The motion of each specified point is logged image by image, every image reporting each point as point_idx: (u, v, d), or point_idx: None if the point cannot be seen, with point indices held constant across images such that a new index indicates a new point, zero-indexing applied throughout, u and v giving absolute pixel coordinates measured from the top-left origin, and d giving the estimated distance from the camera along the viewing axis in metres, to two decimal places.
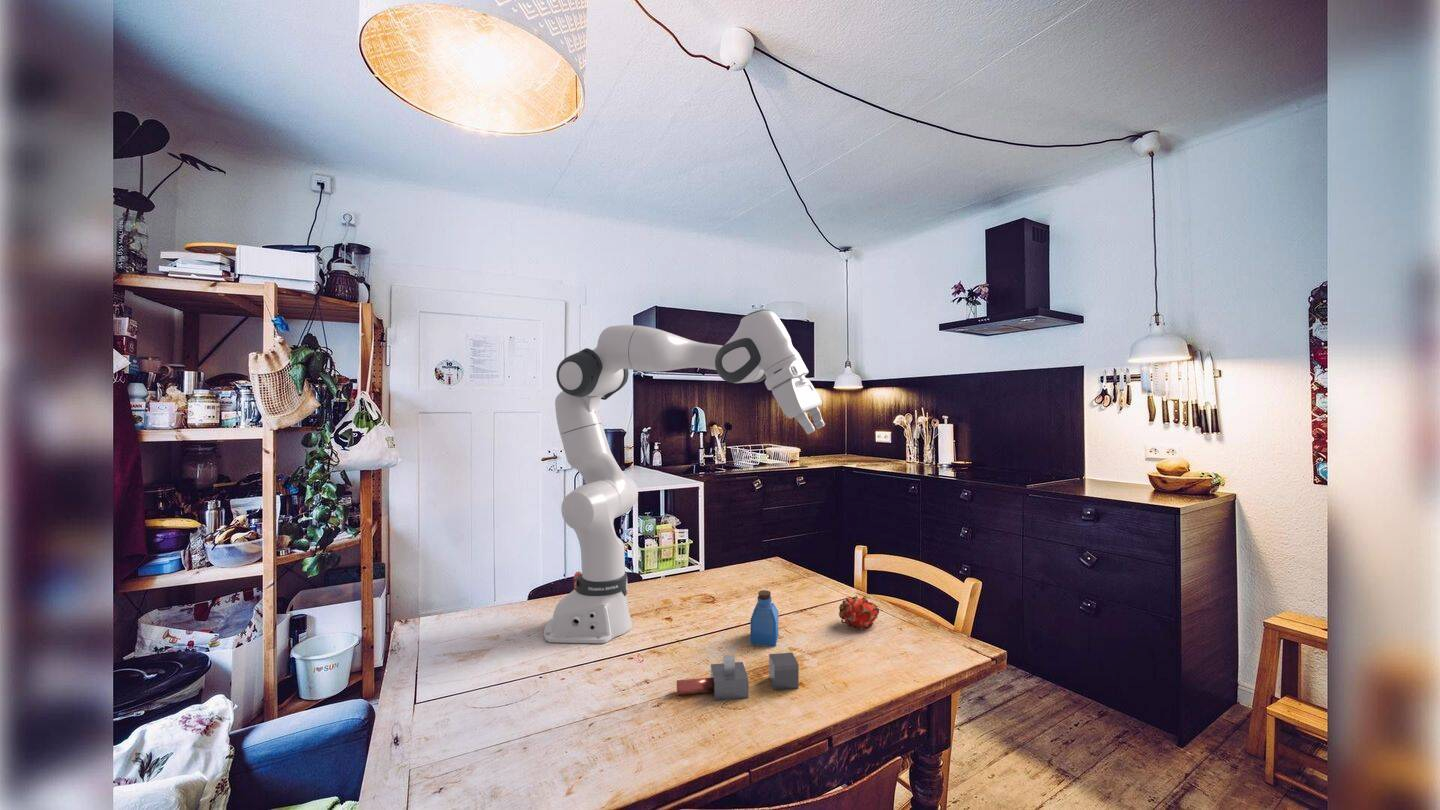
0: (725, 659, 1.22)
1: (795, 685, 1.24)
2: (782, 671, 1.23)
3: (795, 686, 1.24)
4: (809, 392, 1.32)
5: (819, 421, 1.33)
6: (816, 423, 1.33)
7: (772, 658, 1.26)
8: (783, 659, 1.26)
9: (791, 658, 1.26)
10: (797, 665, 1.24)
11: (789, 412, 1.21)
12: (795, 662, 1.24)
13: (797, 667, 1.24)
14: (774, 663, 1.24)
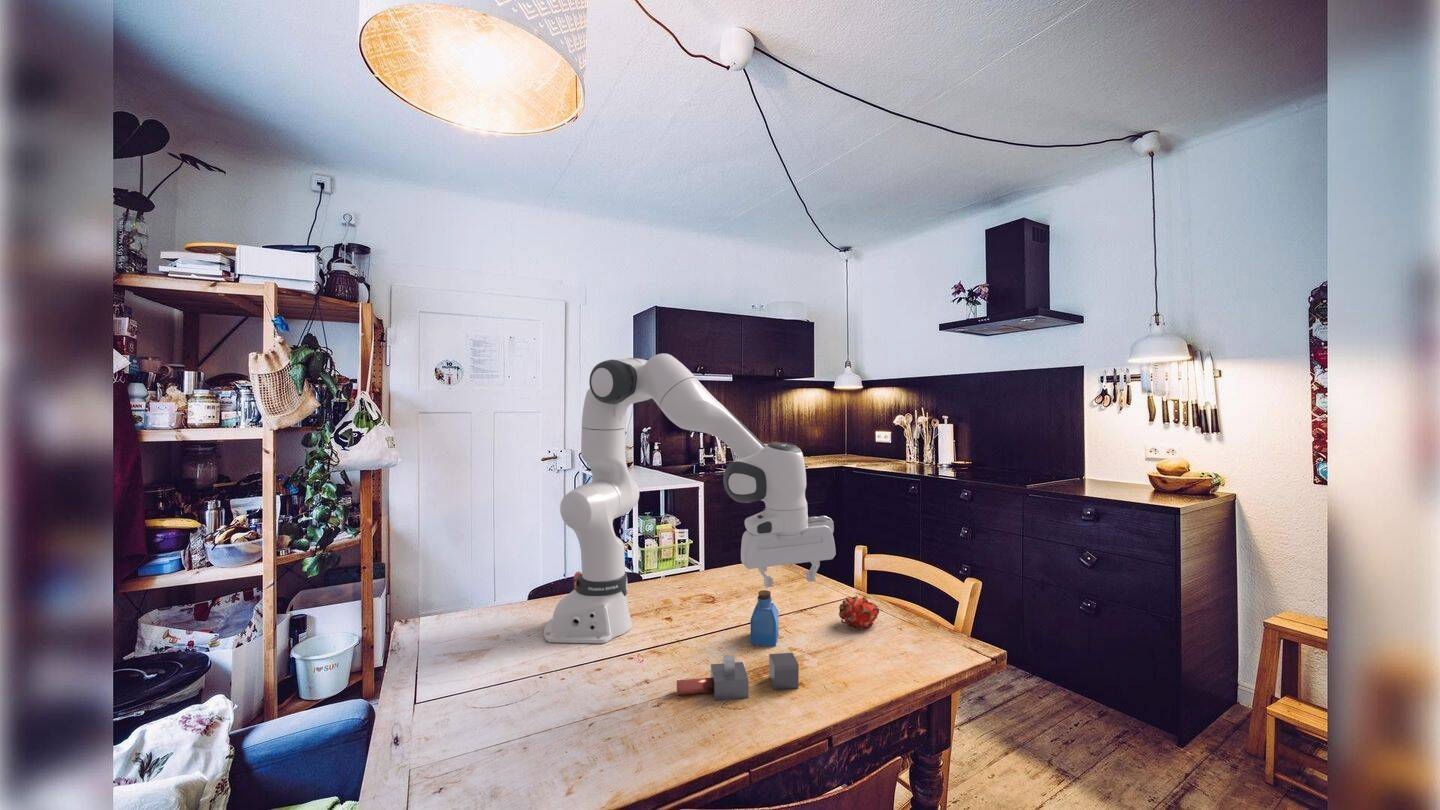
0: (725, 659, 1.22)
1: (795, 685, 1.24)
2: (782, 671, 1.23)
3: (795, 686, 1.24)
4: (804, 546, 1.23)
5: (807, 575, 1.25)
6: (806, 574, 1.26)
7: (772, 658, 1.26)
8: (783, 659, 1.26)
9: (791, 658, 1.26)
10: (797, 665, 1.24)
11: (741, 560, 1.23)
12: (795, 662, 1.24)
13: (797, 667, 1.24)
14: (774, 663, 1.24)
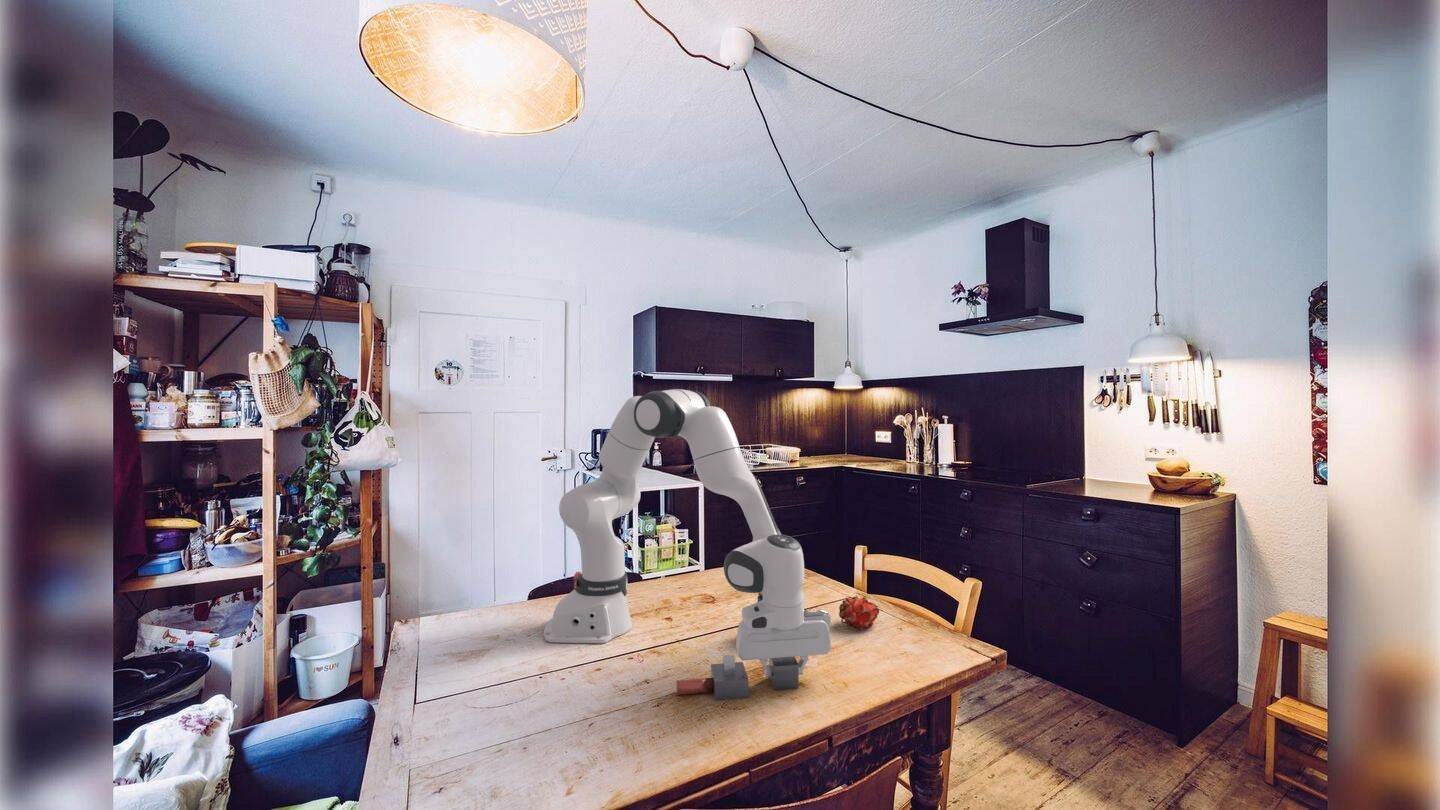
0: (725, 659, 1.22)
1: (795, 685, 1.24)
2: (782, 671, 1.23)
3: (795, 686, 1.24)
4: (799, 640, 1.24)
5: None
6: None
7: (772, 658, 1.26)
8: (783, 659, 1.26)
9: (791, 658, 1.26)
10: (797, 665, 1.24)
11: None
12: (795, 662, 1.24)
13: (797, 667, 1.24)
14: (774, 663, 1.24)
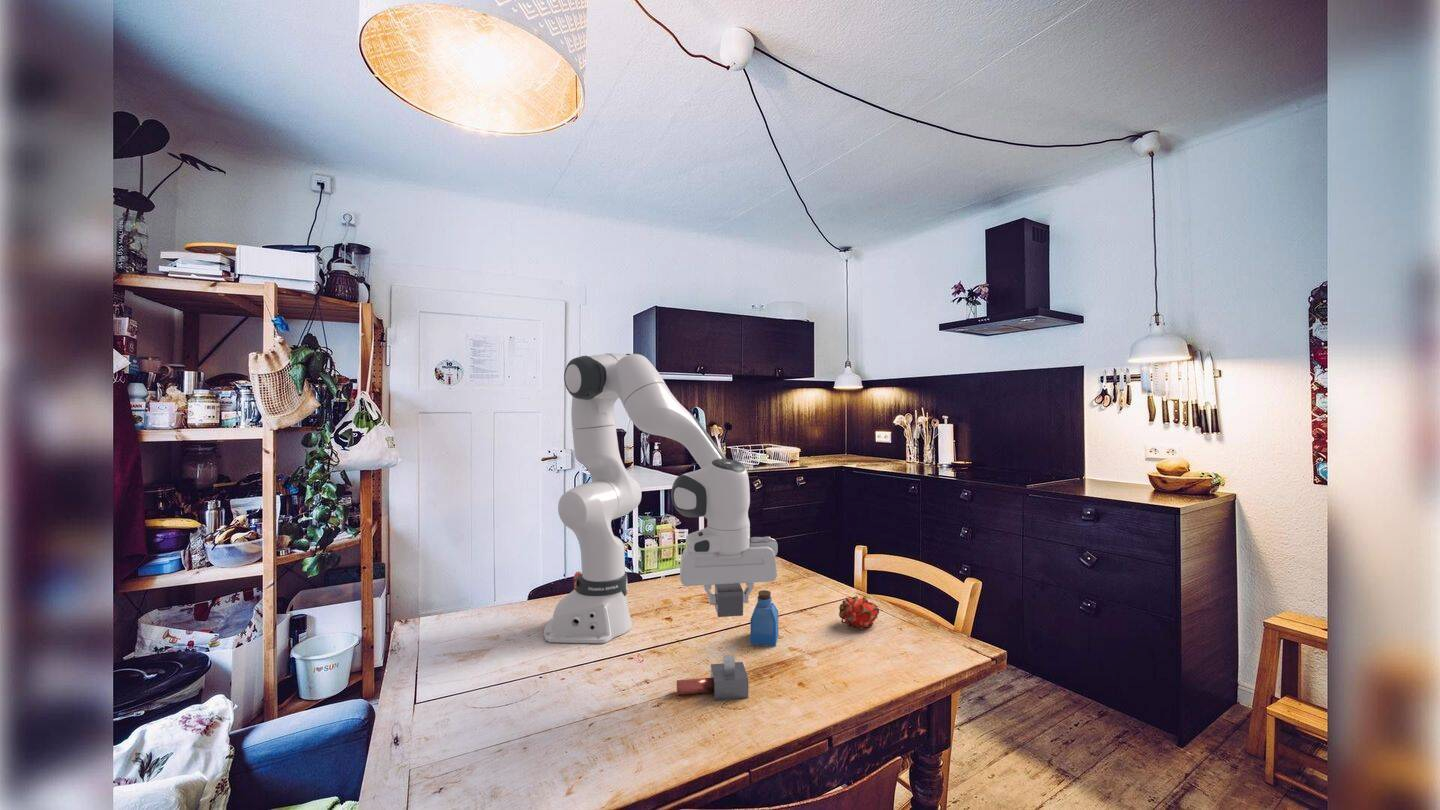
0: (725, 659, 1.22)
1: (739, 612, 1.20)
2: (726, 597, 1.20)
3: (739, 613, 1.20)
4: (743, 566, 1.20)
5: None
6: None
7: (717, 586, 1.23)
8: (728, 587, 1.22)
9: (737, 585, 1.23)
10: (741, 592, 1.20)
11: None
12: (740, 589, 1.21)
13: (742, 594, 1.20)
14: (718, 590, 1.20)
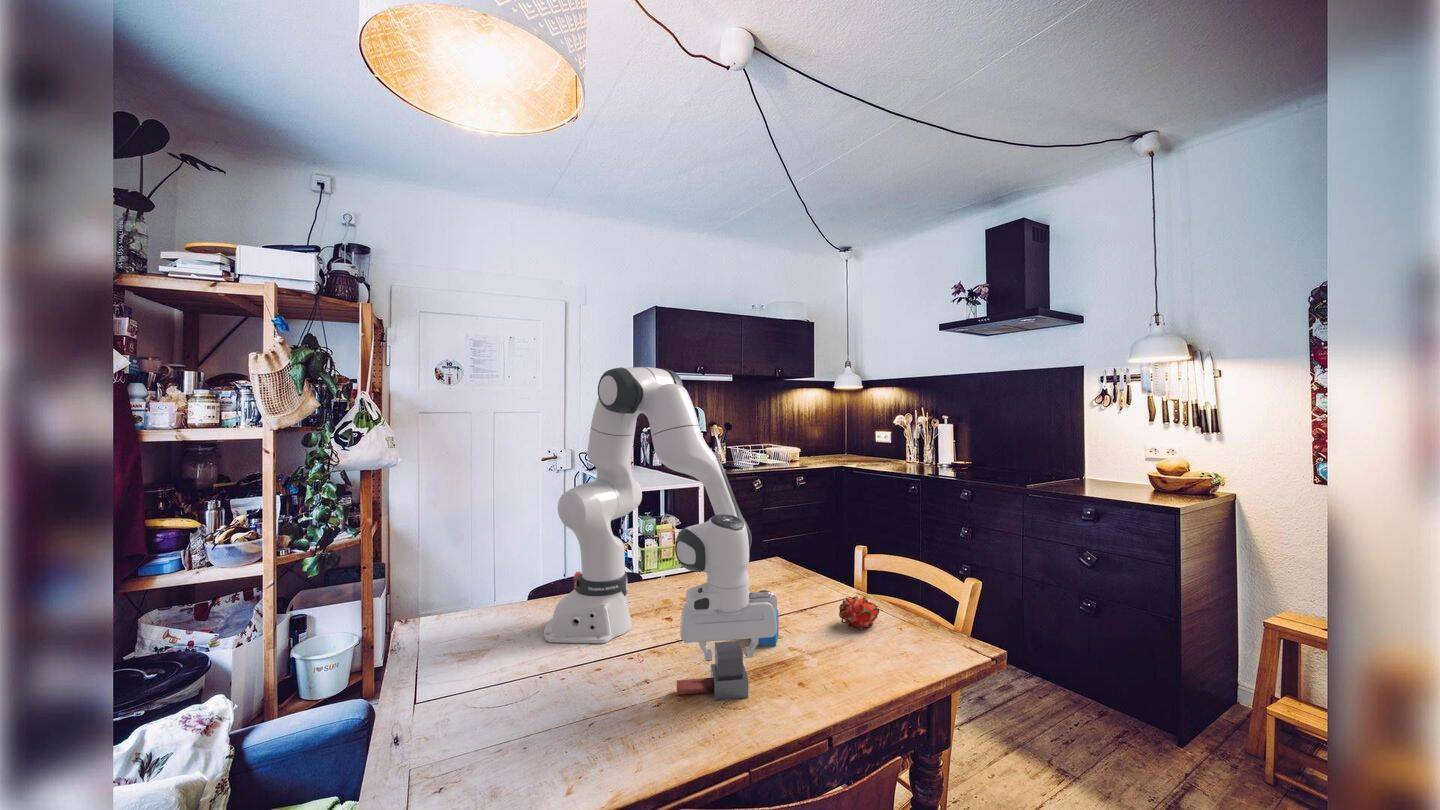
0: None
1: (739, 674, 1.21)
2: (726, 659, 1.20)
3: (739, 675, 1.21)
4: (743, 622, 1.21)
5: (746, 651, 1.23)
6: (745, 649, 1.24)
7: (717, 646, 1.23)
8: (728, 647, 1.23)
9: (736, 646, 1.23)
10: (741, 653, 1.21)
11: (680, 632, 1.22)
12: (740, 650, 1.22)
13: (741, 655, 1.21)
14: (718, 651, 1.21)
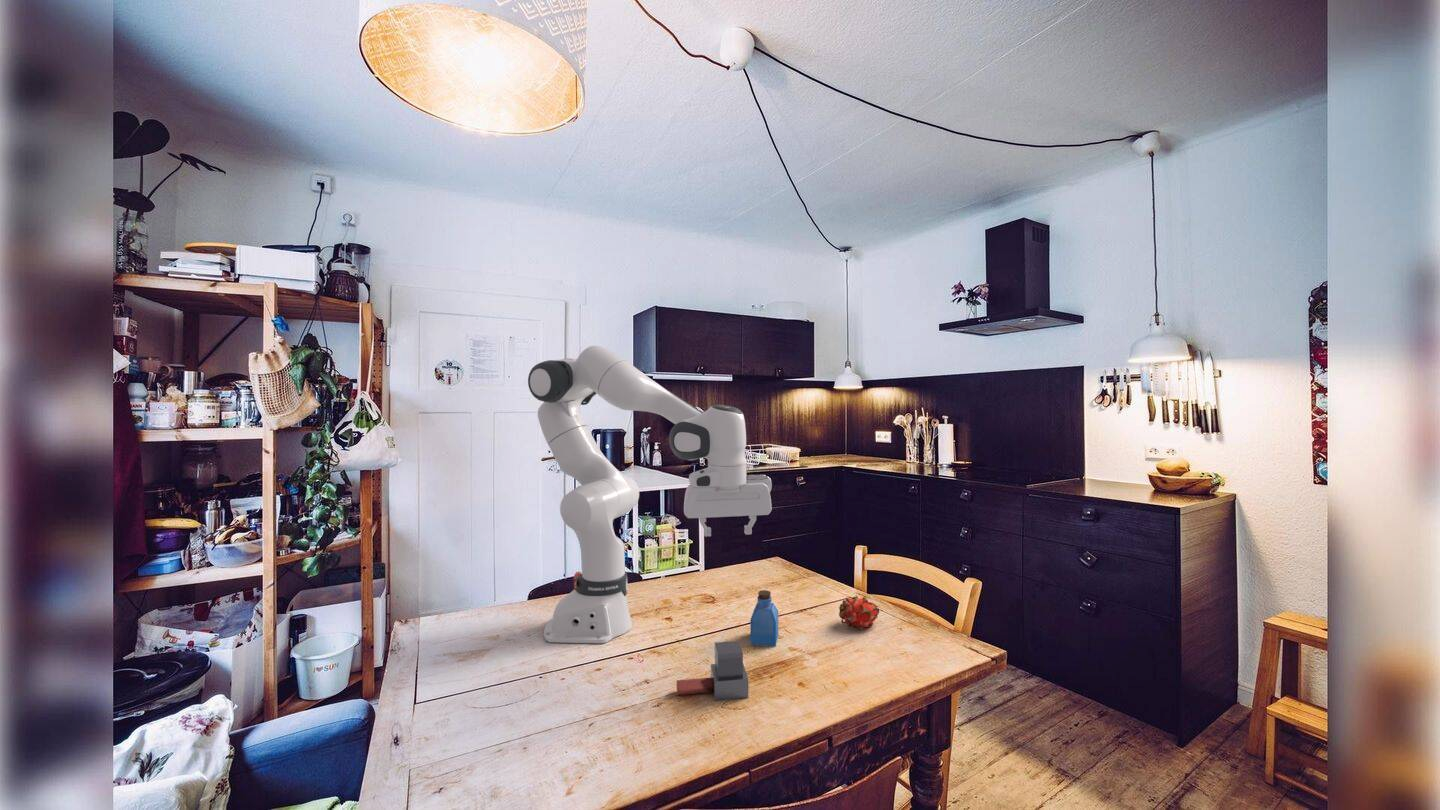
0: None
1: (739, 674, 1.21)
2: (726, 659, 1.20)
3: (739, 675, 1.21)
4: (741, 500, 1.34)
5: (745, 528, 1.36)
6: (744, 527, 1.36)
7: (717, 646, 1.23)
8: (728, 647, 1.23)
9: (736, 646, 1.23)
10: (741, 653, 1.21)
11: None
12: (740, 650, 1.22)
13: (741, 655, 1.21)
14: (718, 651, 1.21)
